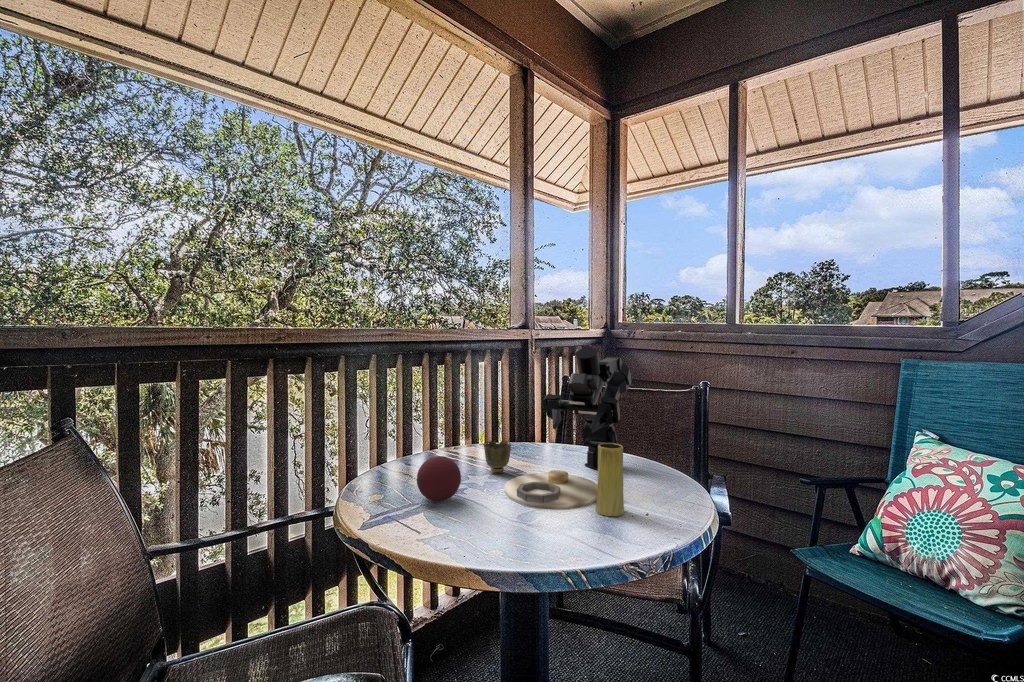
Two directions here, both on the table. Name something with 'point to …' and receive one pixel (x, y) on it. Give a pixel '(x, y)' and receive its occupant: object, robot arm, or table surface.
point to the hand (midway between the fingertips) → (571, 429)
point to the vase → (610, 480)
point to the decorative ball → (438, 478)
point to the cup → (497, 455)
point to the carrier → (552, 490)
